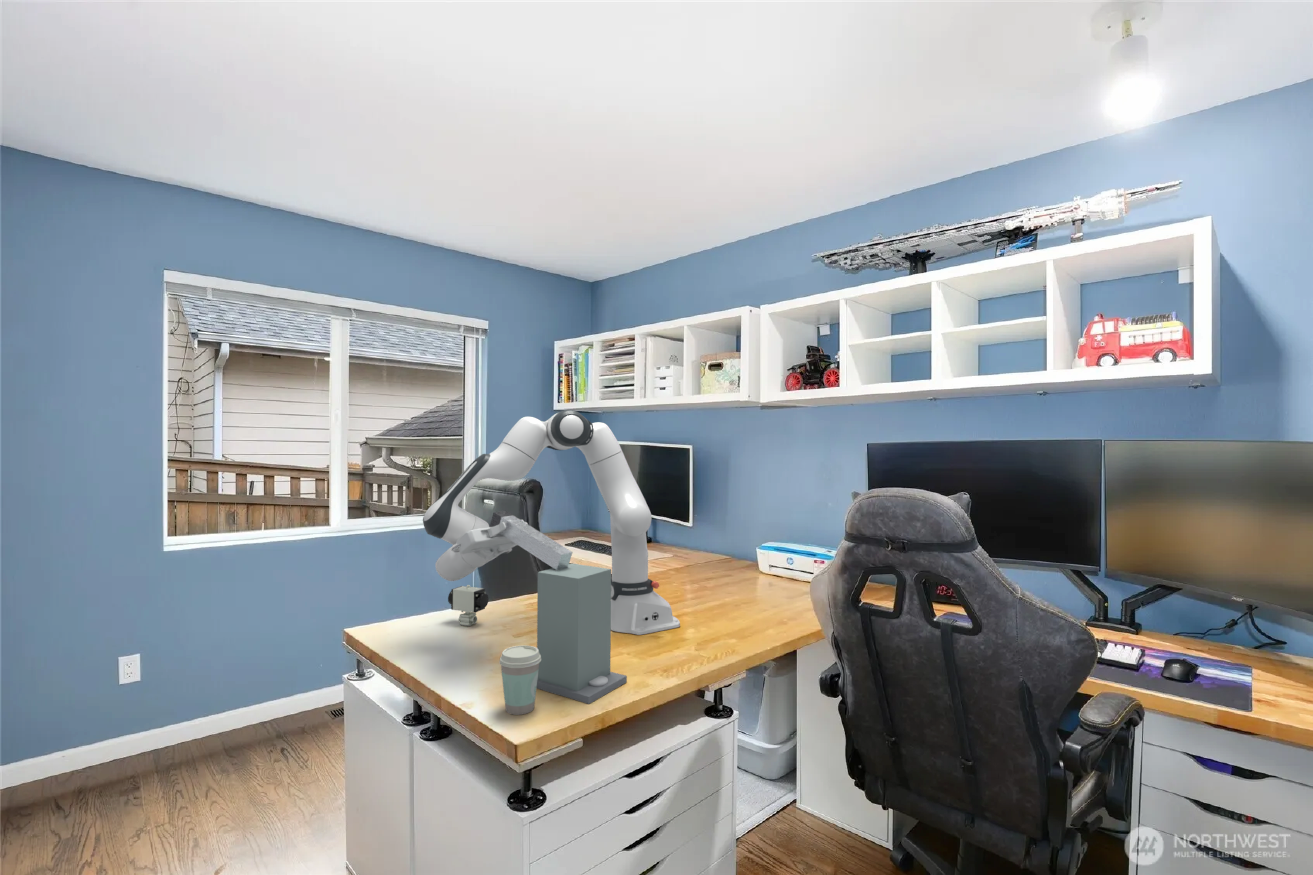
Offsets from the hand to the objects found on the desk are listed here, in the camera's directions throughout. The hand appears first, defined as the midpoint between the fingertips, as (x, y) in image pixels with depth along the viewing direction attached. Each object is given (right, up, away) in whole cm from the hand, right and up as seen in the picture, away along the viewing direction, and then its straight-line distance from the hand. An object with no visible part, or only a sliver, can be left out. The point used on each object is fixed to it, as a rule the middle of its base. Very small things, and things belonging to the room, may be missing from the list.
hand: (514, 523), depth 150 cm
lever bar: (+4, -5, -3) cm, 7 cm away
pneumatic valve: (-22, -36, +34) cm, 54 cm away
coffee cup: (+7, -35, -24) cm, 44 cm away
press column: (+18, -35, -12) cm, 42 cm away
